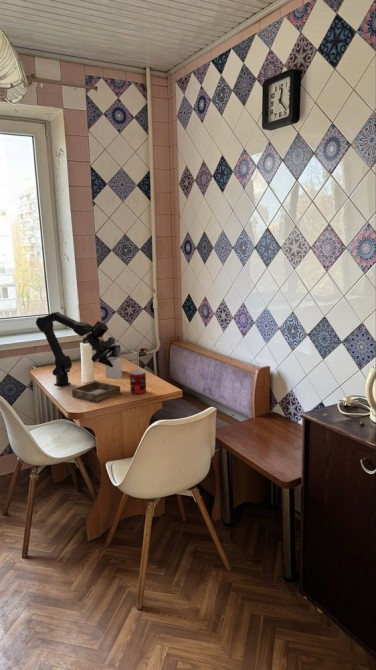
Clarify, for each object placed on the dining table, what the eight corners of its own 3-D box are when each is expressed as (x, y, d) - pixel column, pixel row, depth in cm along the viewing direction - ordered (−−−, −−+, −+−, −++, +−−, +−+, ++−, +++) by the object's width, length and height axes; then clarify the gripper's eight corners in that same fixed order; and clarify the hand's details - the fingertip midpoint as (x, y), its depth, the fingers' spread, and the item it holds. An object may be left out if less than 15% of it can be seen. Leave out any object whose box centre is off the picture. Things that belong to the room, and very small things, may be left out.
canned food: (130, 390, 247) (129, 370, 245) (146, 389, 248) (145, 369, 245) (130, 395, 240) (129, 374, 237) (146, 394, 240) (145, 373, 238)
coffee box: (116, 375, 276) (115, 348, 273) (106, 374, 277) (104, 347, 274) (122, 370, 285) (120, 344, 281) (111, 370, 286) (110, 344, 283)
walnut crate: (72, 396, 239) (71, 389, 239) (95, 388, 252) (95, 381, 251) (97, 403, 229) (96, 395, 228) (120, 394, 242) (120, 386, 241)
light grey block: (106, 378, 245) (105, 359, 243) (111, 375, 251) (110, 356, 249) (116, 379, 243) (115, 360, 241) (121, 376, 249) (121, 357, 247)
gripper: (95, 336, 235) (115, 359, 234) (114, 329, 252) (133, 351, 251) (82, 350, 240) (102, 373, 238) (102, 343, 257) (121, 364, 255)
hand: (115, 365), depth 245 cm, fingers closed on light grey block, 6 cm apart
